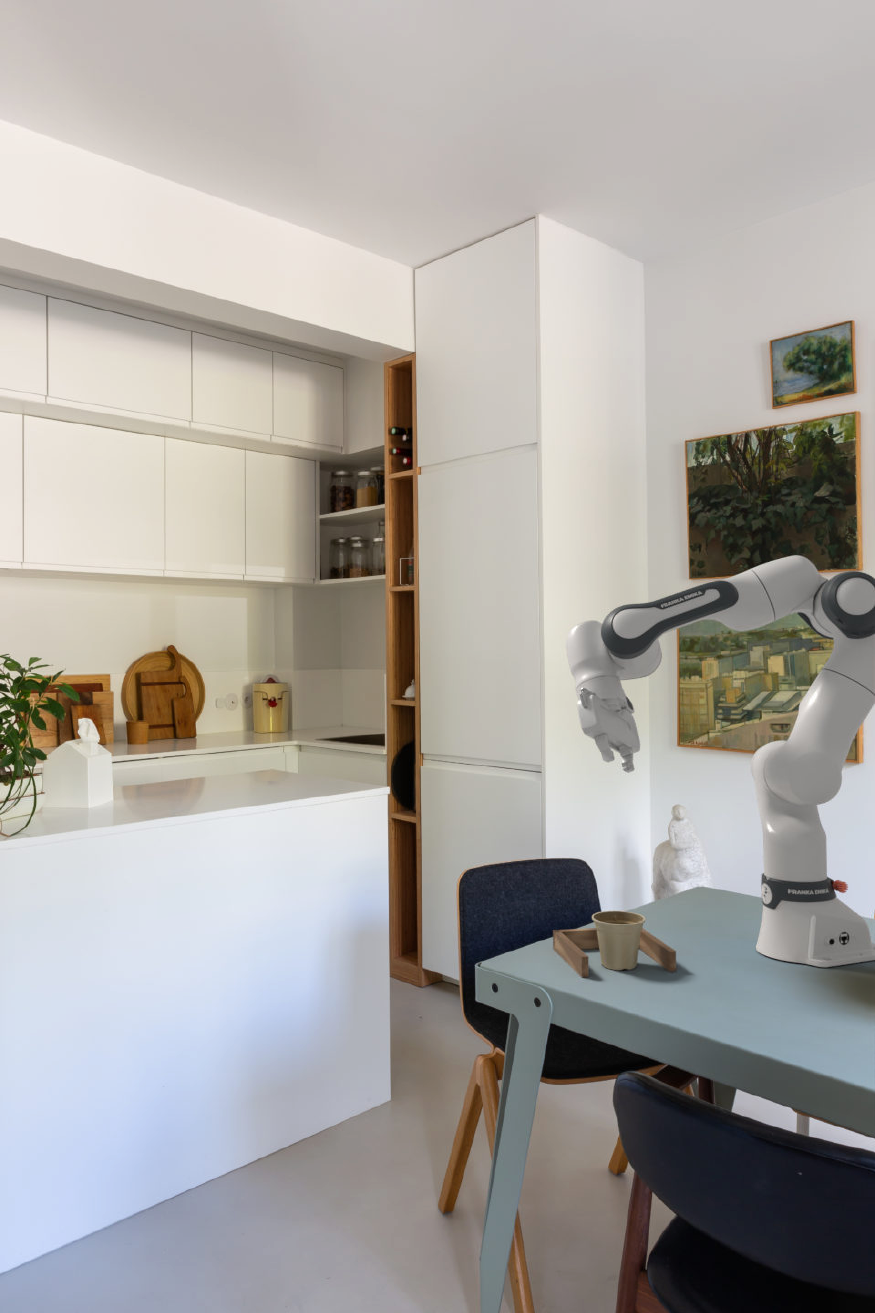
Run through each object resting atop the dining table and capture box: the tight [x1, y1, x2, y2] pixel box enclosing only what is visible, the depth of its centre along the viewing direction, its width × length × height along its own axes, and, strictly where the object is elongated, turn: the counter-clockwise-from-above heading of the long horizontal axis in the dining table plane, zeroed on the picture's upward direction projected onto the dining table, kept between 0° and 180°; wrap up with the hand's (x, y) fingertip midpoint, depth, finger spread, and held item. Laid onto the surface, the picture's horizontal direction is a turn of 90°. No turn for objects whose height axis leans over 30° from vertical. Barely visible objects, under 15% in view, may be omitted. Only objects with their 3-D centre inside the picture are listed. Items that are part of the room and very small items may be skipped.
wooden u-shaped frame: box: [552, 927, 677, 978], centre depth 169 cm, size 17×17×4 cm
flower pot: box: [591, 910, 646, 971], centre depth 166 cm, size 9×9×9 cm
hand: (619, 766), depth 173 cm, fingers open, 8 cm apart
